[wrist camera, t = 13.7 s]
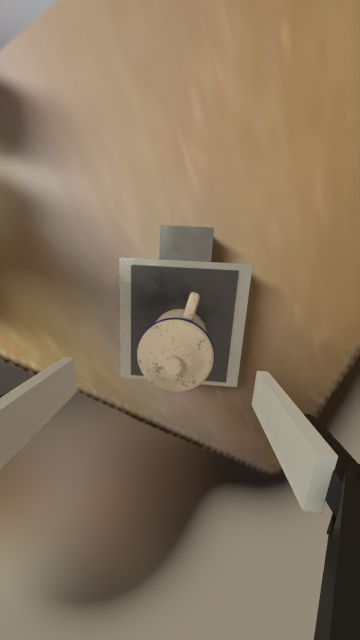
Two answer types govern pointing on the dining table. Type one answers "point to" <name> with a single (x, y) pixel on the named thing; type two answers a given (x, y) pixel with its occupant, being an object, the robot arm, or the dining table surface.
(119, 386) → the dining table surface
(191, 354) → the teacup with lid
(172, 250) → the white flat block
